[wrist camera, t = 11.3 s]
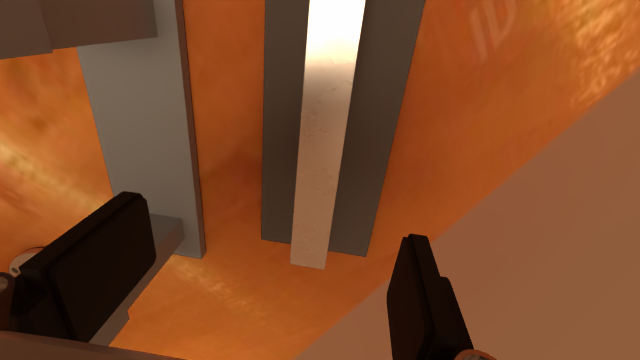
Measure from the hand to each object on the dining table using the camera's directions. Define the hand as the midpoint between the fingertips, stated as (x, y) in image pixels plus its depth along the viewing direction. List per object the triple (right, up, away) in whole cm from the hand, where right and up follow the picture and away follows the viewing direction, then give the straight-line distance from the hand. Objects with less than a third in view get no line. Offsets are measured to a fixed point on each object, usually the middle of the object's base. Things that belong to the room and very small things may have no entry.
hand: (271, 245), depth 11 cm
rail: (+2, +7, +12) cm, 14 cm away
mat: (+2, +7, +13) cm, 15 cm away
